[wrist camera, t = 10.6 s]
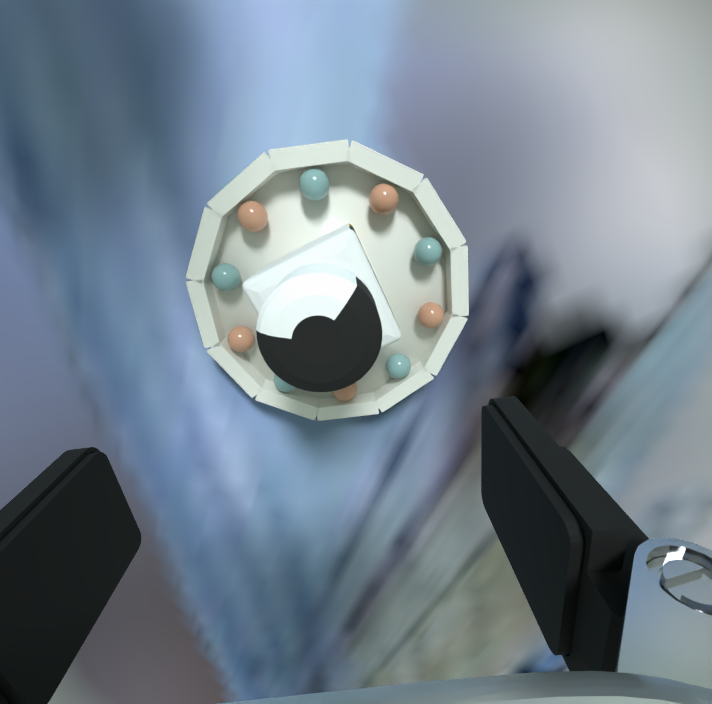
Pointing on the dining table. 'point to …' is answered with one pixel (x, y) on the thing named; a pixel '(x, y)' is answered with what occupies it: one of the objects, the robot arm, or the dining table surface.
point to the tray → (308, 222)
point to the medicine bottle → (321, 313)
